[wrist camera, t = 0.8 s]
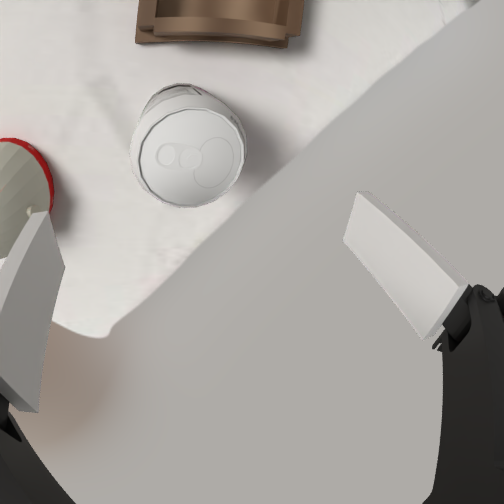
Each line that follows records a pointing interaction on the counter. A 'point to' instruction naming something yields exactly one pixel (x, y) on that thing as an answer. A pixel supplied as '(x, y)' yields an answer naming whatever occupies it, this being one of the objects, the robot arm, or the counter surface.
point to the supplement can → (187, 147)
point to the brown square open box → (220, 21)
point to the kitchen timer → (21, 189)
